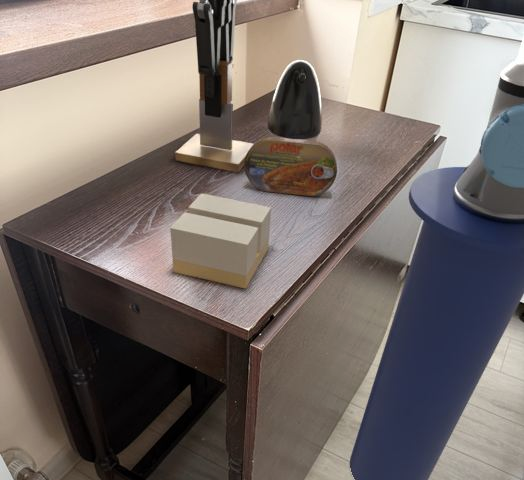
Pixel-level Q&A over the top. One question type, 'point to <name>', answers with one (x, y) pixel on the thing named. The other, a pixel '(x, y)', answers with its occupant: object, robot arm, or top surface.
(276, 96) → the black white dome
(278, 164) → the tin
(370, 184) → the top surface
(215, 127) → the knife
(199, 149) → the board
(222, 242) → the slotted card holder
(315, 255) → the top surface
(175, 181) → the top surface
